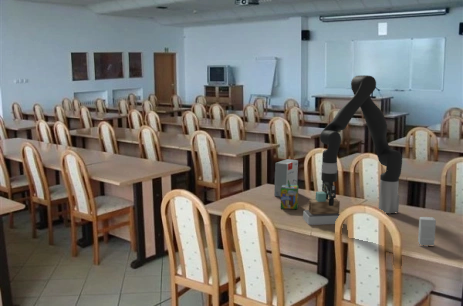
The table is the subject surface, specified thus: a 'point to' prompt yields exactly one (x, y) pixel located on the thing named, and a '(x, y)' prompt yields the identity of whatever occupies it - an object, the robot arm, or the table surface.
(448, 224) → the table surface
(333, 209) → the brown wooden block
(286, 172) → the hard drive box
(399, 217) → the table surface
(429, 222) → the skincare box
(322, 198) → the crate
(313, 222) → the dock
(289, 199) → the chalk box
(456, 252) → the table surface
